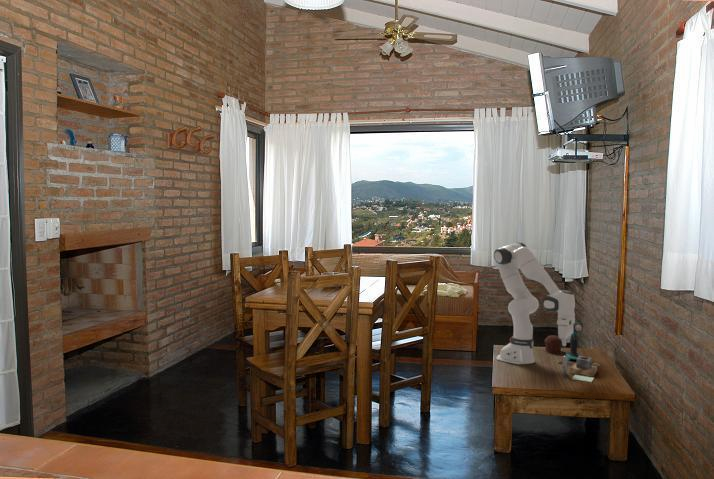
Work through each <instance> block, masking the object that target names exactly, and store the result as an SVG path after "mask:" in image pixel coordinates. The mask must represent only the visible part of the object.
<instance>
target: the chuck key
mask: <svg viewBox="0 0 714 479" xmlns="http://www.w3.org/2000/svg"><path fill="white" fill-rule="evenodd" d="M557 363H558V364H559V365H562V367H561V368H562V370H561V371H562V374H561V375H562V376H568V366H569V367H572V366H573V363H572V362H570V361H569V362H568V356H565V355H562V361H560V360H559V361H558V362H557Z"/></svg>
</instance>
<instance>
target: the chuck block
mask: <svg viewBox="0 0 714 479" xmlns="http://www.w3.org/2000/svg"><path fill="white" fill-rule="evenodd" d="M598 367H600V363H597V362H593V358H592V357H589V356H582V355H581V356H579V357H578V358H577V359H576V362H575V363H574V364H572V366H570V374H573V375H580V376H586V377H593V378H594V376H596V374H597V372H598Z"/></svg>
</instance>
